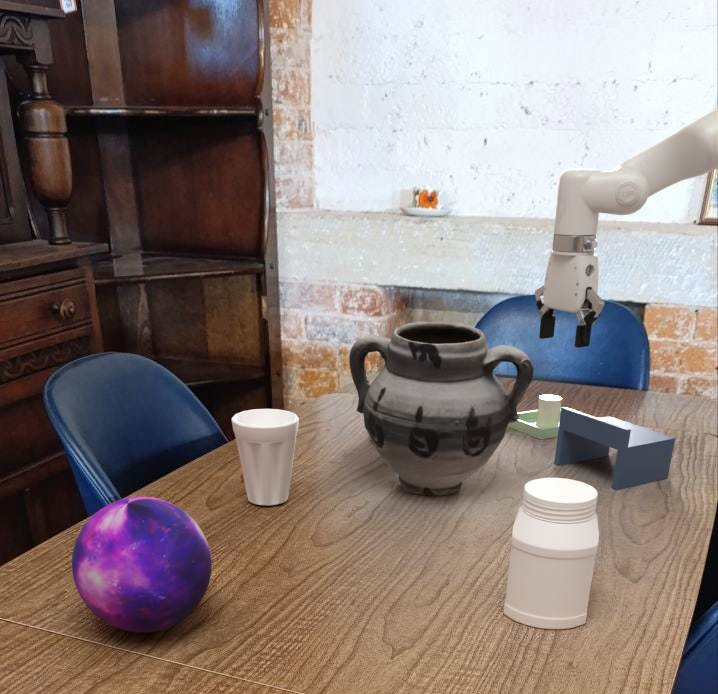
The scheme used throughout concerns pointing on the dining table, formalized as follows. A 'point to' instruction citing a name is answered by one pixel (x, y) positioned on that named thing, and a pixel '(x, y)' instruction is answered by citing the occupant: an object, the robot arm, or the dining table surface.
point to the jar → (552, 554)
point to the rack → (634, 444)
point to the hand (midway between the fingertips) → (563, 342)
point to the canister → (548, 411)
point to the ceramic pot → (437, 401)
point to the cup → (266, 452)
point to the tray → (533, 426)
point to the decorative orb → (141, 564)
